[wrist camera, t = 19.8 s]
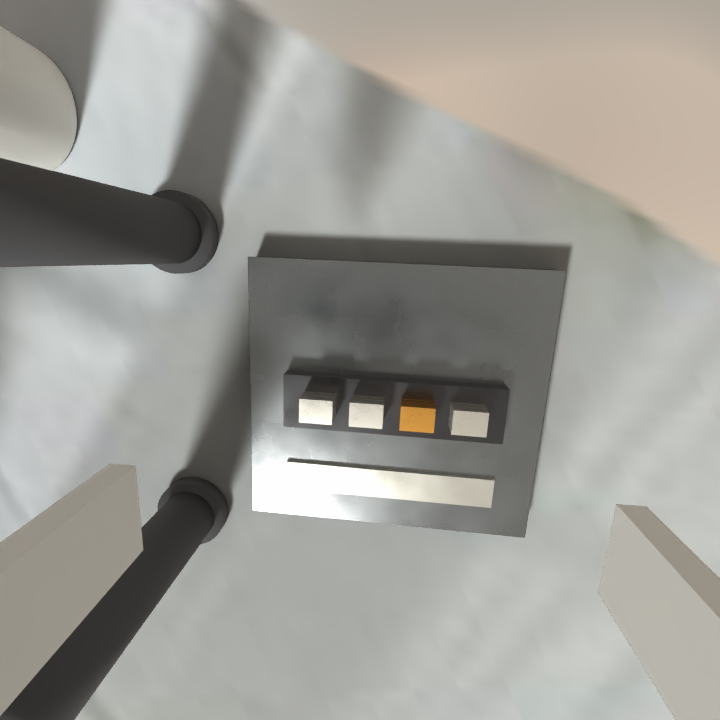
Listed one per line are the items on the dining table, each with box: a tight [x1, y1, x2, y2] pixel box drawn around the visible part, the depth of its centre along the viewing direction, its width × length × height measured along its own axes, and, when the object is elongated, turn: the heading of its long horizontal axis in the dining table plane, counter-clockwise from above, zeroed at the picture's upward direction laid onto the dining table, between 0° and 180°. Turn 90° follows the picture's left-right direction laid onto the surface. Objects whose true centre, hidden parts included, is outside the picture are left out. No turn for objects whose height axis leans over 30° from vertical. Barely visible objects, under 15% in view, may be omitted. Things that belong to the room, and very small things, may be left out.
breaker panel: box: [248, 257, 566, 538], centre depth 21 cm, size 15×14×3 cm
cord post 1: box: [0, 158, 218, 273], centre depth 16 cm, size 4×4×13 cm
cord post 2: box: [0, 477, 228, 720], centre depth 19 cm, size 4×4×13 cm
